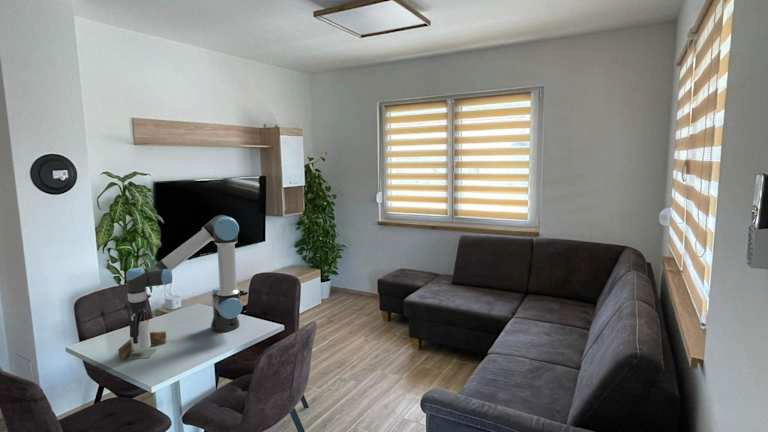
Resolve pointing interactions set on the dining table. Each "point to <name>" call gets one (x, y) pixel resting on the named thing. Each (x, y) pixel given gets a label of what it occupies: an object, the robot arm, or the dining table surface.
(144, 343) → the cup
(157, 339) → the brown wooden l-shaped wall
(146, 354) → the pad
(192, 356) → the dining table surface
